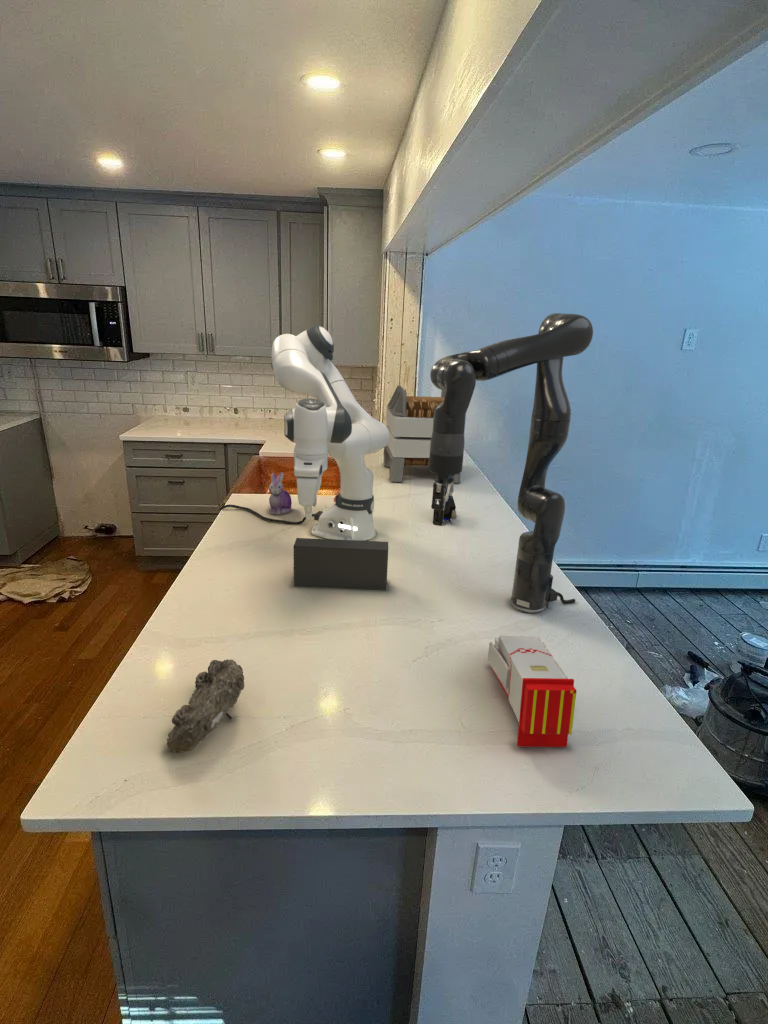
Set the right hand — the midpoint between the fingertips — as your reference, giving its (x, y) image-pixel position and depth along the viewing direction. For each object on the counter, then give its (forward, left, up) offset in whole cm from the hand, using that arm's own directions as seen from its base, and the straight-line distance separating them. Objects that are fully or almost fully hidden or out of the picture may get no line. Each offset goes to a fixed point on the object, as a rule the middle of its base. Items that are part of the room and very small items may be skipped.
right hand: (441, 518), depth 132 cm
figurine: (+21, -93, -29) cm, 100 cm away
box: (+15, -29, -29) cm, 44 cm away
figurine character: (-38, -70, -29) cm, 85 cm away
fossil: (+54, +18, -29) cm, 64 cm away
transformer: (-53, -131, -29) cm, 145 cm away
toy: (-6, +31, -29) cm, 43 cm away
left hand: (+24, -32, -8) cm, 40 cm away
